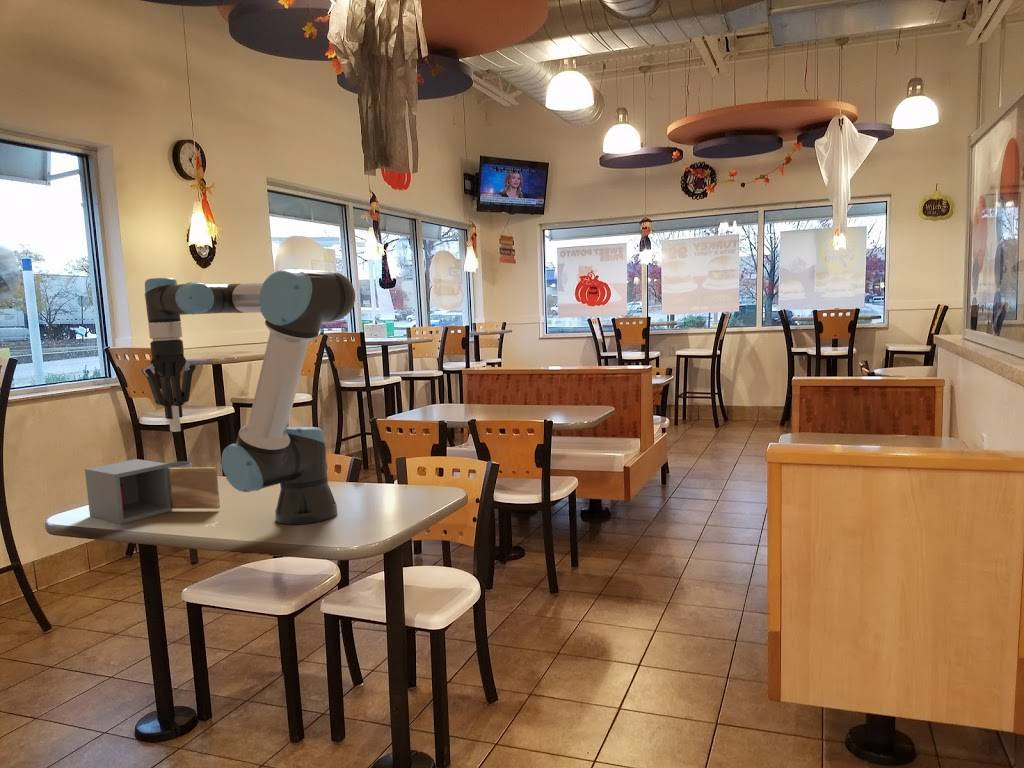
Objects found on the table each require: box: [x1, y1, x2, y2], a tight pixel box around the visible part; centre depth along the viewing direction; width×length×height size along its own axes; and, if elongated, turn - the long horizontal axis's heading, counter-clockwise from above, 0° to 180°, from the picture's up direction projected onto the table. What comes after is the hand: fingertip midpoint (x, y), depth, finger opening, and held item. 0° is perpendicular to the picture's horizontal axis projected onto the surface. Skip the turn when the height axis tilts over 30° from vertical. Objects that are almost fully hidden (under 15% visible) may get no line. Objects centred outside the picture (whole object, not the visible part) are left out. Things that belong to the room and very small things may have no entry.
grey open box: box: [84, 458, 173, 525], centre depth 197 cm, size 16×14×13 cm
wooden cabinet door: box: [167, 466, 221, 510], centre depth 197 cm, size 2×14×11 cm, turn 80°
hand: (175, 431), depth 188 cm, fingers closed
